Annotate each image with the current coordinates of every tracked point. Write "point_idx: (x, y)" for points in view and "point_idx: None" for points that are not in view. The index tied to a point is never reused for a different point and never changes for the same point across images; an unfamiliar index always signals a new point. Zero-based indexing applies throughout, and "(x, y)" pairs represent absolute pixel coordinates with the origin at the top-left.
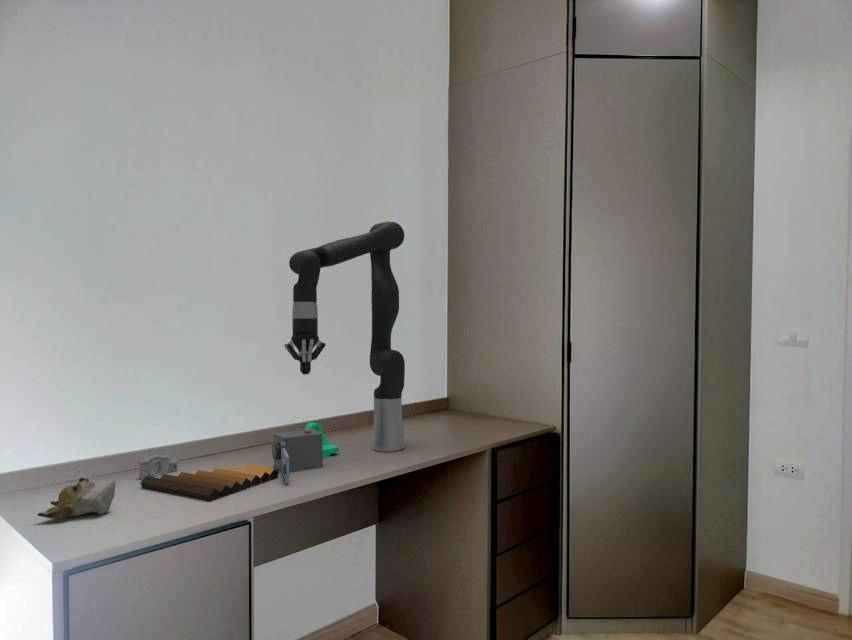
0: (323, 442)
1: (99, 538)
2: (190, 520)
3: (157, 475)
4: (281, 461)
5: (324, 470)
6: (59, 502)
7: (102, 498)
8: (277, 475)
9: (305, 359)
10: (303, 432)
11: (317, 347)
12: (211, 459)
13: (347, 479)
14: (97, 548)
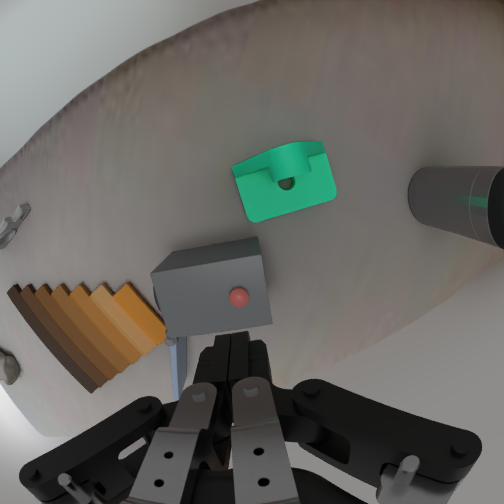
0: (310, 156)
1: (43, 418)
2: (91, 424)
3: (14, 234)
4: None
5: None
6: None
7: (12, 383)
8: None
9: (227, 441)
10: (227, 293)
11: (383, 474)
12: (74, 140)
13: (282, 377)
14: (51, 432)
